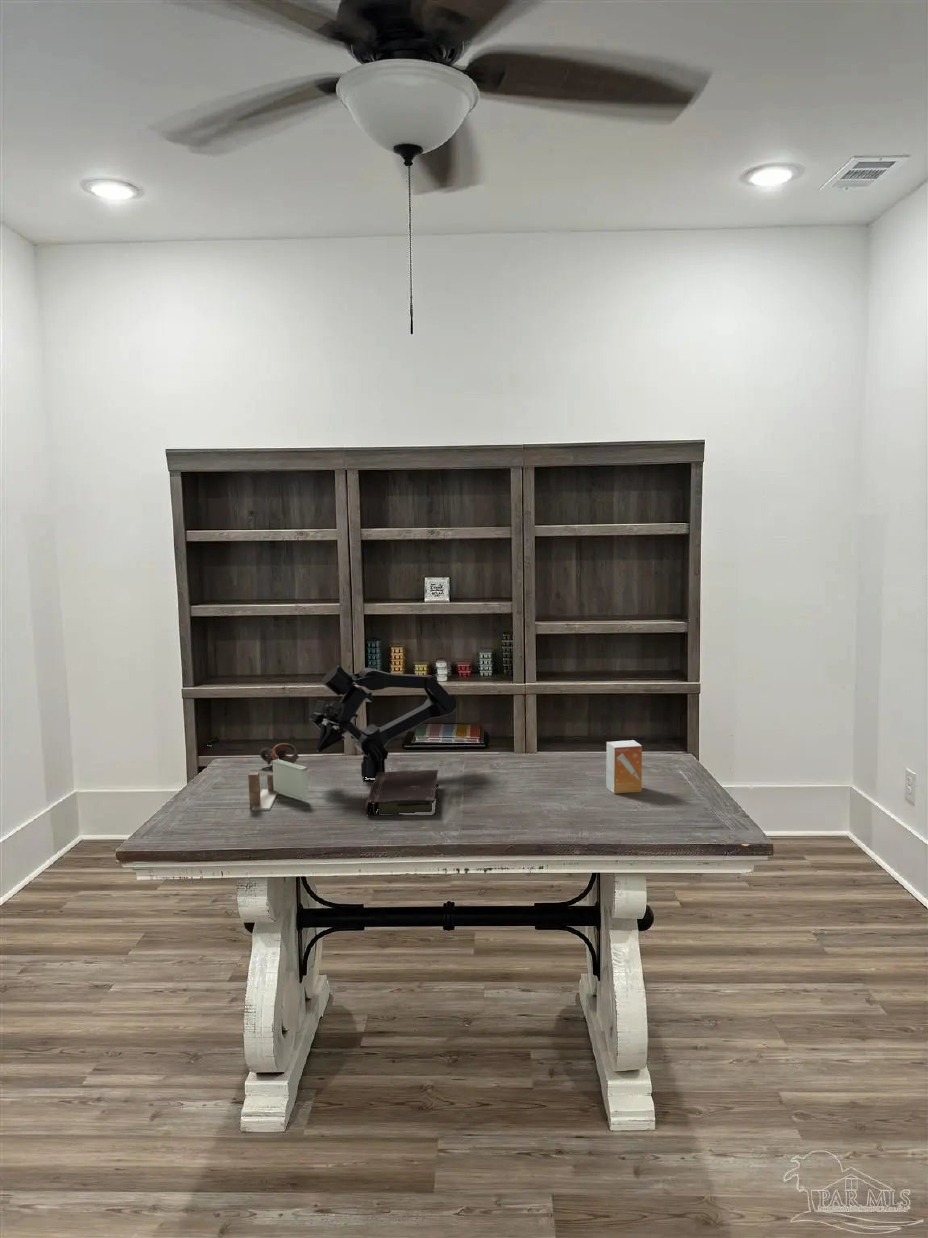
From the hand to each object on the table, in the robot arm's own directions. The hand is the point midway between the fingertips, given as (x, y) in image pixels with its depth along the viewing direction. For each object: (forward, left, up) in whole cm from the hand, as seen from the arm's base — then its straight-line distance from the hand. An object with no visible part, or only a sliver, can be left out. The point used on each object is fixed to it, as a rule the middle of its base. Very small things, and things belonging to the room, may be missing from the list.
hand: (317, 751), depth 241 cm
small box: (-84, +9, -12) cm, 85 cm away
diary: (-24, +11, -12) cm, 29 cm away
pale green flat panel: (+7, +6, -10) cm, 14 cm away
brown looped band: (+15, -25, -12) cm, 31 cm away
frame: (+14, +7, -11) cm, 19 cm away
